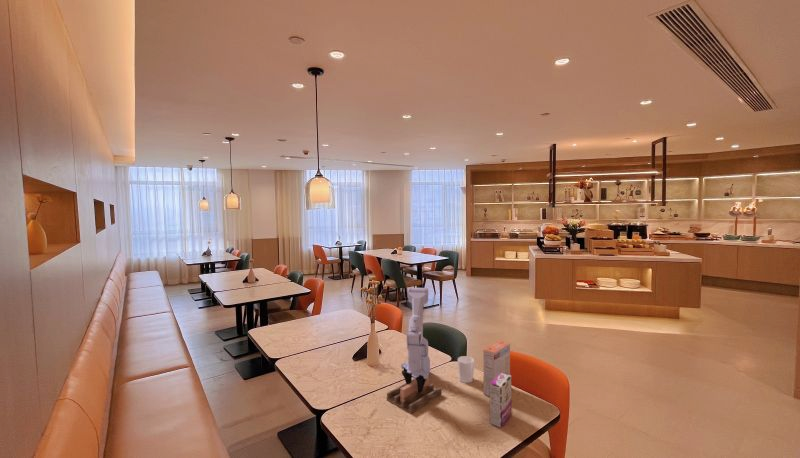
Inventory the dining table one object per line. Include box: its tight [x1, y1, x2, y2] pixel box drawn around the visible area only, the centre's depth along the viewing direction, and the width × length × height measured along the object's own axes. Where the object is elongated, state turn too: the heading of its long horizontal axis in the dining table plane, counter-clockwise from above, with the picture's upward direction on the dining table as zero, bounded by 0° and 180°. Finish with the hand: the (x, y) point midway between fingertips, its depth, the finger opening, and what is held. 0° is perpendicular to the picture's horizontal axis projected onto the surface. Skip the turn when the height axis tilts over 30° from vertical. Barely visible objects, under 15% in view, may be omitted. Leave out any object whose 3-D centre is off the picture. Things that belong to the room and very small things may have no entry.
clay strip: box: [400, 378, 429, 402], centre depth 155 cm, size 16×2×6 cm, turn 135°
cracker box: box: [482, 340, 511, 398], centre depth 160 cm, size 14×6×21 cm, turn 134°
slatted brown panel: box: [386, 377, 442, 414], centre depth 155 cm, size 20×14×3 cm
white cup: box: [457, 355, 475, 384], centre depth 171 cm, size 8×8×10 cm
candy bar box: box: [489, 373, 512, 429], centre depth 139 cm, size 11×5×16 cm, turn 143°
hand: (414, 388), depth 155 cm, fingers open, 6 cm apart
